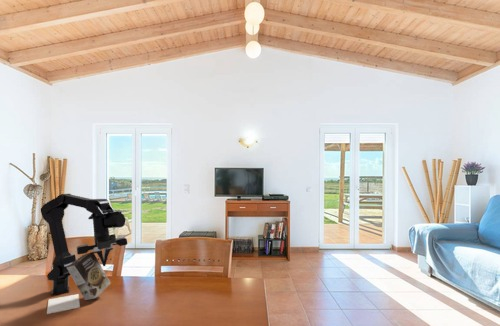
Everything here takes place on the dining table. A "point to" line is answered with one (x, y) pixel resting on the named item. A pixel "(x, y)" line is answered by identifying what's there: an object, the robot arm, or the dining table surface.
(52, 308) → the mat
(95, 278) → the coffee box
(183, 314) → the dining table surface
